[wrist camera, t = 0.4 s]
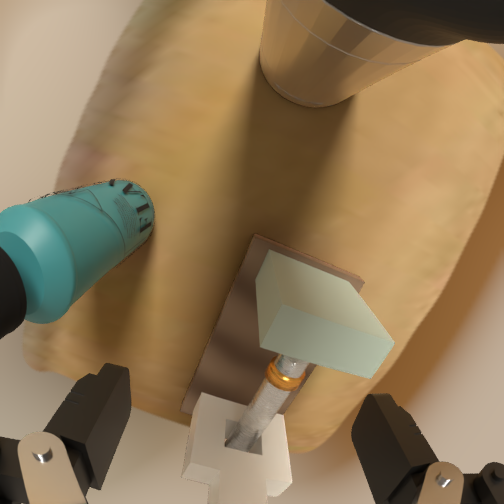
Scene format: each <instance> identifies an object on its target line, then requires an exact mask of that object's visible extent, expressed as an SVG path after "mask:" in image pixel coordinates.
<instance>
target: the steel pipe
mask: <svg viewBox="0 0 504 504" xmlns="http://www.w3.org/2000/svg"><path fill="white" fill-rule="evenodd" d="M309 363H310V362H306V361H303V360H300V359H296V358H293V357H290V356H286V355H283V354H280V353H279V354H278V356H275V357H273V358H272V360H271V361H270V363H269V365H268V367H267V368H266V370H265V378H264V380H263V381H262V383H261V385H260V387H259V388H258V390H257V392H256V393H255V395H254V397H253V398H252V400H251V402H250V403H249V405H248V406H247V408H246V410H245V411H244V413H243V415H242V416H241V418H240V419H239V421H238V423H237V424H236V426H235V427H234V429H233V430H232V432H231V434H230V435H229V437H228V438H227V440H226V441H225V443H224V447H227V448H231V449H235V450H240V451H244V452H249V451H250V449H251V448H252V447H253V445H254V444H255V443H256V441H257V440H258V439H259V437H260V436H261V434H262V433H263V432H264V430H265V429H266V428H267V426H268V425H269V423H270V422H271V421H272V419H273V418H274V416H275V415H276V413H277V412H278V411H279V409H280V408H281V406H282V405H283V403H284V402H285V400H286V399H287V397H288V396H289V394H290V393H291V391H295V390H296V389H297V388H298V386H299V385H300V383H301V382H302V380H303V379H304V377H305V370H306V368H307V367H308V365H309Z"/></svg>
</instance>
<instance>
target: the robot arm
mask: <svg viewBox="0 0 504 504" xmlns="http://www.w3.org/2000/svg"><path fill="white" fill-rule="evenodd" d="M465 39H468V40H473V41H478V42H484V43H494V44H504V0H267V2H266V9H265V17H264V24H263V32H262V38H261V46H260V65H261V68H262V72H263V74H264V76H265V78H266V80H267V82H268V83H269V84H270V85H271V86H272V88H273V89H274V90H275V91H276V92H278V93H279V94H280V95H281V96H282V97H284V98H286V99H288V100H289V101H291V102H293V103H296V104H299V105H302V106H307V107H314V108H315V107H327V106H331V105H335V104H337V103H339V102H341V101H343V100H345V99H347V98H348V97H350V96H352V95H354V94H356V93H358V92H360V91H362V90H363V89H365V88H367V87H369V86H371V85H373V84H374V83H376V82H378V81H380V80H382V79H384V78H386V77H388V76H390V75H392V74H394V73H396V72H398V71H400V70H402V69H403V68H405V67H407V66H410V65H412V64H414V63H416V62H418V61H420V60H421V59H423V58H425V57H427V56H430V55H432V54H434V53H436V52H438V51H440V50H442V49H445V48H447V47H449V46H451V45H454V44H455V43H458V42H460V41H462V40H465ZM130 411H131V392H130V376H129V369H128V368H126V367H122V366H118V365H114V364H110V363H105V364H104V366H103V367H102V369H101V370H100V372H99V373H98V375H94V374H90V373H89V374H88V375H86V376H84V377H83V378H81V379H79V380H78V381H77V382H76V384H75V385H74V387H73V388H72V389H71V392H70V393H69V394H68V395H67V397H66V398H65V401H63V402H62V404H61V405H60V407H59V408H58V410H57V411H56V413H55V414H54V416H53V417H52V419H51V420H50V422H49V423H48V425H47V426H46V428H45V429H44V430H43V432H33V433H30V434H28V435H26V436H25V437H23V438H22V439H21V440H15V439H10V438H4V437H0V504H21V503H23V504H88V502H87V499H86V497H85V496H86V494H87V491H88V489H89V487H91V488H95V489H97V490H101V487H102V485H103V482H104V480H105V477H106V474H107V472H108V469H109V466H110V464H111V461H112V459H113V456H114V454H115V451H116V449H117V446H118V444H119V441H120V439H121V436H122V434H123V431H124V429H125V427H126V424H127V422H128V419H129V416H130ZM351 436H352V442H353V444H354V447H355V449H356V452H357V455H358V457H359V460H360V463H361V465H362V468H363V471H364V473H365V476H366V479H367V481H368V484H369V487H370V490H371V492H372V495H373V498H374V500H375V503H376V504H504V465H503V464H501V463H497V462H492V463H488V464H487V465H486V466H485V467H484V468H483V469H482V470H481V472H480V473H479V474H462V472H461V471H460V470H459V468H458V467H456V466H455V465H453V464H451V463H449V462H443V461H442V462H439V460H438V459H437V457H436V455H435V454H434V452H433V450H432V449H431V447H430V445H429V444H428V442H427V440H426V439H425V438H424V436H423V434H421V431H420V429H419V428H418V426H416V423H415V421H414V420H413V418H412V416H411V415H410V414H409V413H408V412H406V411H405V410H404V409H403V408H402V407H401V406H397V404H396V403H395V401H394V400H393V398H392V397H391V395H390V394H387V393H386V394H368V395H367V396H366V398H365V400H364V402H363V404H362V406H361V409H360V411H359V413H358V415H357V417H356V419H355V422H354V424H353V426H352V432H351Z"/></svg>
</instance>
